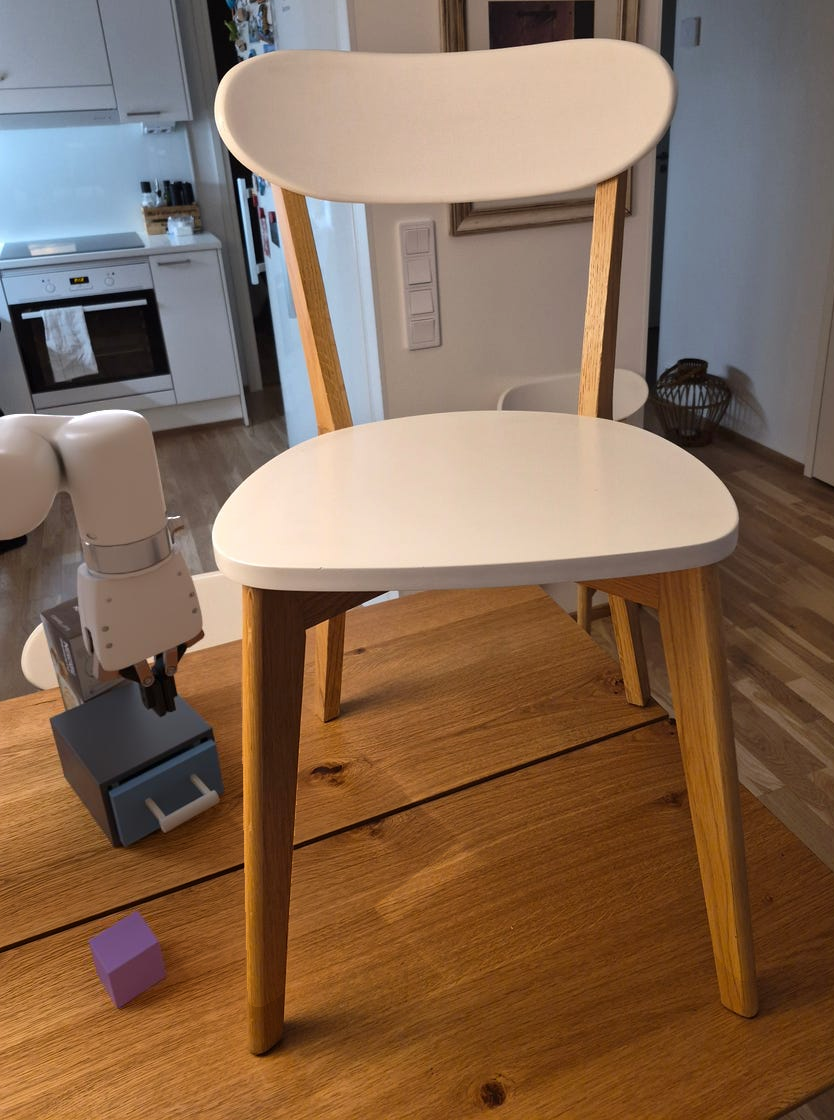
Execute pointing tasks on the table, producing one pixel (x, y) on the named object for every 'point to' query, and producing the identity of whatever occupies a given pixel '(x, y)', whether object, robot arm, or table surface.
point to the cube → (127, 958)
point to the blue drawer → (167, 792)
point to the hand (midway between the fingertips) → (161, 707)
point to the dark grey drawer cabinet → (119, 744)
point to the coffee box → (73, 656)
